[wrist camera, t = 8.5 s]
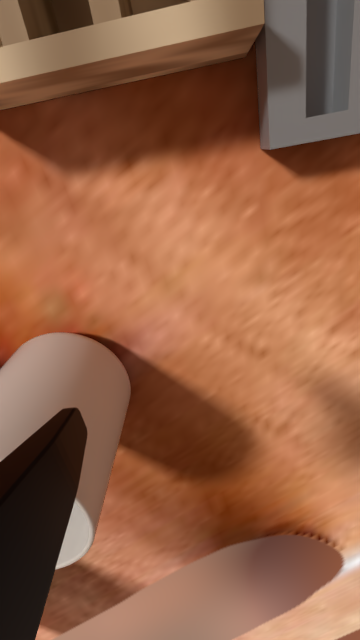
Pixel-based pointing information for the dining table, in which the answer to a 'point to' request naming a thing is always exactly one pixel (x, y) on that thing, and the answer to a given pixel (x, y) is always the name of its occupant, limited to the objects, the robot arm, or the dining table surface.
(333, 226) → the dining table surface
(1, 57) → the rack
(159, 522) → the dining table surface
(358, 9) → the stand
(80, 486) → the mug
